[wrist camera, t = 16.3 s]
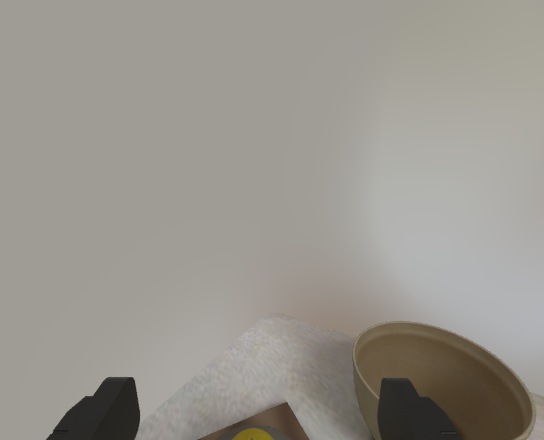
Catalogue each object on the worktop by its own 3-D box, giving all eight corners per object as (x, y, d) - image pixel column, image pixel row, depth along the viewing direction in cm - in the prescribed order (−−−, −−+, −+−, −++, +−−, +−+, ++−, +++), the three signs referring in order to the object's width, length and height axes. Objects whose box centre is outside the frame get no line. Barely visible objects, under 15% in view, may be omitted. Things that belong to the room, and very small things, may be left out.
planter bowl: (466, 398, 38) (482, 329, 36) (550, 566, 23) (590, 468, 20) (344, 377, 42) (350, 312, 39) (347, 511, 27) (357, 420, 24)
